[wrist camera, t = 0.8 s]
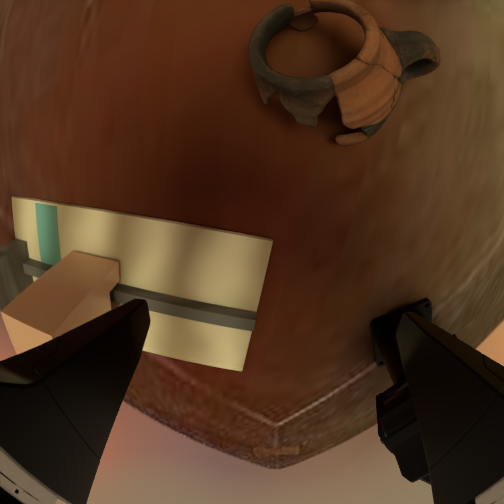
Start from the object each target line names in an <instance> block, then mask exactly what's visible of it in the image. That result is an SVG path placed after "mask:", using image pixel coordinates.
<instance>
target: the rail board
mask: <svg viewBox="0 0 504 504" xmlns="http://www.w3.org/2000/svg"><path fill="white" fill-rule="evenodd" d="M12 208H13V219H14V228H15V236H16V238H15V239H14V240H12V241H10V242H9V243H7V244H6V245H4V246H2V247H1V248H0V312H1V311H2V310H3V309H4V308H5V307H6V306H7V305H8V304H9V303H10V302H12V301H13V300H14V299H15V298H16V297H17V296H18V295H19V294H20V293H22V292H23V291H24V290H25V289H26V288H27V287H28V286H30V285H31V284H32V283H33V282H34V281H36V280H37V279H38V278H39V277H40V276H42V275H43V274H44V273H45V272H46V271H48V270H49V269H50V268H51V267H53V266H54V265H55V264H56V263H58V262H59V261H60V260H61V259H63V258H64V257H65V256H67V255H68V254H69V253H71V252H72V251H75V252H79V253H83V254H87V255H92V256H96V257H100V258H104V259H109V260H113V261H117V262H119V279H120V280H119V282H118V283H117V284H116V285H115V286H114V288H113V289H112V290H111V291H110V300H111V301H114V302H118V303H121V305H122V304H124V303H126V302H129V301H131V300H133V299H135V298H139V299H145V300H146V301H147V303H148V308H149V314H150V319H151V322H150V327H149V330H148V334H147V337H146V340H145V343H144V347H143V350H144V351H148V352H152V353H155V354H159V355H163V356H167V357H172V358H176V359H180V360H185V361H189V362H194V363H199V364H204V365H209V366H214V367H219V368H225V369H231V370H237V371H242V369H243V365H244V361H245V357H246V353H247V349H248V345H249V341H250V337H251V333H252V332H253V331H254V327H255V323H256V312H257V308H258V304H259V299H260V295H261V291H262V287H263V282H264V278H265V274H266V270H267V265H268V261H269V256H270V252H271V248H272V243H273V239H270V238H264V237H259V236H254V235H248V234H243V233H238V232H232V231H227V230H221V229H216V228H210V227H204V226H199V225H193V224H188V223H182V222H176V221H170V220H165V219H159V218H153V217H147V216H141V215H135V214H129V213H123V212H117V211H111V210H105V209H99V208H92V207H86V206H80V205H73V204H67V203H60V202H54V201H47V200H40V199H34V198H27V197H20V196H13V197H12Z"/></svg>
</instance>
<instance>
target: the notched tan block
mask: <svg viewBox="0 0 504 504" xmlns="http://www.w3.org/2000/svg"><path fill="white" fill-rule="evenodd" d="M119 280H120V279H119V262H117V261H113V260H109V259H104V258H100V257H96V256H92V255H87V254H83V253H79V252H75V251H72V252H71V253H69V254H68V255H67V256H65V257H64V258H63V259H61V260H60V261H59V262H58V263H56V264H55V265H54V266H53V267H51V268H50V269H49V270H48V271H46V272H45V273H44V274H43V275H42V276H40V277H39V278H38V279H37V280H36V281H34V282H33V283H32V284H31V285H30V286H28V287H27V288H26V289H25V290H24V291H23V292H22V293H20V294H19V295H18V296H17V297H16V298H15V299H14V300H13V301H12V302H10V303H9V304H8V305H7V306H6V307H5V308H4V309H3V310H2V311H1V314H2V317H3V320H4V322H5V325H6V328H7V331H8V333H9V336H10V339H11V341H12V343H13V346H14V348H15V350H16V353H17V354H20V353H22V352H25V351H27V350H30V349H32V348H34V347H37V346H39V345H41V344H43V343H45V342H47V341H50V340H52V339H54V338H56V337H58V336H61V335H62V334H64V333H66V332H68V331H70V330H72V329H74V328H76V327H78V326H80V325H82V324H84V323H86V322H88V321H90V320H92V319H94V318H96V317H98V316H100V315H102V314H104V313H106V312H108V311H110V310H112V309H114V308H116V307H118V306H120V305H121V303H118V302H114V301H111V300H110V291H111V290H112V289H113V288H114V286H115V285H116V284H117V283H118V282H119Z"/></svg>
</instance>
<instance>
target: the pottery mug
mask: <svg viewBox="0 0 504 504" xmlns="http://www.w3.org/2000/svg"><path fill="white" fill-rule="evenodd" d="M309 2H310V4H311V6H309V7H304V8H301V9H298V10H296V11H294V10H293V7H292V5H290V4H286V5H280V6H278V7H276V8H275V9H273V10H272V11H270V12H269V13H268V14H267V15H266V16H265V17H264V18H263V19H262V20H261V21H260V22H259V23H258V25H257V26H256V27H255V29H254V32H253V34H252V39H251V40H250V43H249V47H248V50H249V60H250V64H251V65H252V67H253V73H254V77H255V80H256V83H257V87H258V90H259V93H260V96H261V98H262V100H263V102H264V104H268V103H269V102H270V99H271V97H273V96H274V95H275V94H276V93H279V97H280V101H281V103H282V104H283V106H284V108H285V109H286V110H287V111H288V112H290V113H291V114H292V115H293V116H294V118H295V120H296V121H297V122H298V123H300V124H302V125H306V126H310V127H316V126H317V124H318V117H317V116H318V115H319V114H320V113H321V112H322V111H323V109H324V107H325V106H326V104H327V103H328V102H329V101H330V100H331V99H332V98H333V97H334V96H336V98H337V101H338V105H339V107H340V111H341V116H342V117H341V120H342V123H343V125H345V126H346V127H348V128H351V129H355V128H359V127H361V129H362V131H360V132H356V133H351V134H345V135H337V136H336V137H335V140H336V143H338V144H340V145H351V144H355V143H359V142H361V141H363V140H366V139H367V138H370V137H371V136H373V135H374V134H375V133H376V132H377V131H378V130H379V129H380V128H381V126H382V125H383V123H384V122H385V120H386V119H387V117H388V116H389V115H390V113H391V112H392V110H393V109H394V107H395V105H396V104H397V102H398V99H399V97H400V94H401V91H402V84H403V83H404V82H406V81H407V80H409V79H413V78H416V77H420V76H423V75H426V74H428V73H430V72H432V71H434V70H435V69H436V68H437V67H438V66H439V64H440V50H439V48H438V47H437V46H436V45H435V43H434V41H433V40H432V39H431V38H429V37H428V36H426V35H425V34H423V33H420V32H417V31H403V32H400V31H392V30H389V29H387V28H385V27H381V28H380V29H379V28H378V25H377V23H376V21H375V20H374V18H373V17H372V15H371V14H369V13H368V12H367V11H366V10H365V9H364V8H362V7H361V6H359V5H358V4H356V3H354V2H352V1H350V0H309ZM318 12H334V13H341V14H345V15H347V16H350V17H352V18H353V19H355V20H356V21H357V22H358V23H359V24H360V25H362V27H363V30H364V33H365V40H364V44H363V47H362V49H361V51H360V52H359V54H358V55H357V56H356V58H355V59H353V60H352V61H351V62H350V63H348V64H347V65H345V66H344V67H342V68H340V69H338V70H336V71H334V72H332V73H330V74H329V75H325V76H318V77H311V78H298V77H291V76H286V75H283V74H280V73H278V72H276V71H274V70H273V69H272V68H271V67H270V66H269V65H268V63H267V60H266V56H265V53H266V48H267V45H268V43H269V41H270V39H271V38H272V37H273V36H274V35H275V34H277V33H278V32H280V31H282V30H283V29H285V28H287V27H289V26H292V27H293V28H296V29H298V30H300V31H303V30H306V29H308V28H310V27H312V26H313V25H315V24H317V23H318V21H319V20H318V17H317V16H316V15H315V14H314V13H318Z"/></svg>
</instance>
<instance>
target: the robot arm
mask: <svg viewBox="0 0 504 504" xmlns="http://www.w3.org/2000/svg"><path fill="white" fill-rule="evenodd" d="M431 318H432V310H431V301H430V300H429V299H424V300H422V301H420V302H417V303H415V304H413V305H410V306H408V307H406V308H403V309H401V310H398V311H396V312H393V313H391V314H388V315H386V316H383V317H380V318H378V319H375V320H373V321H372V322H371V323H370V327H371V333H372V339H373V346H374V352H375V359H376V364H377V366H383V365H386V367H387V369H388V372H389V374H390V376H391V379H392V381H393V384H394V385H393V386H391V387H390V388H389V389H387V390H386V391H384V392H383V393H380V394H378V395H377V396H376V409H377V422H378V435H379V437H380V440H381V442H382V443H383V444H385V446H386V448H387V449H388V450H389V451H390V452H391V453H393V454H394V455H395V457H396V460H397V462H398V465H399V468H400V471H401V474H402V476H403V477H405V478H406V479H407V480H409V481H410V482H415V481H417V480H419V479H420V480H422V481H424V482H426V483H428V484H430V485H431V486H432V493H433V499H434V504H504V366H502V365H500V364H499V363H497V362H495V361H494V360H492V359H490V358H489V357H487V356H486V355H484V354H482V353H481V352H479V351H477V350H476V349H474V348H473V347H471V346H469V345H468V344H466V343H464V342H463V341H461V340H459V339H458V338H457V337H456V335H455V334H453V335H451V334H450V333H448V332H446V331H445V330H443V329H441V328H439V327H438V326H436V325H434V324H433V323H431ZM150 322H151V319H150V314H149V308H148V303H147V301H146V300H145V299H139V298H135V299H133V300H131V301H129V302H126V303H124V304H122V305H120V306H118V307H116V308H114V309H112V310H110V311H108V312H106V313H104V314H102V315H100V316H98V317H96V318H94V319H92V320H90V321H88V322H86V323H84V324H82V325H80V326H78V327H76V328H74V329H72V330H70V331H68V332H66V333H64V334H62V335H61V336H58V337H56V338H54V339H52V340H50V341H47V342H45V343H43V344H41V345H39V346H37V347H34V348H32V349H30V350H27V351H25V352H22V353H20V354H17V355H15V356H12V357H10V358H8V359H5V360H3V361H0V504H55V503H56V500H57V498H58V499H60V500H62V501H64V502H66V503H67V504H86V503H87V500H88V497H89V493H90V490H91V487H92V484H93V481H94V478H95V475H96V472H97V469H98V466H99V463H100V459H101V456H102V454H103V451H104V448H105V445H106V443H107V440H108V437H109V434H110V432H111V429H112V426H113V424H114V421H115V419H116V416H117V414H118V411H119V408H120V406H121V403H122V401H123V398H124V396H125V393H126V391H127V389H128V386H129V384H130V381H131V379H132V377H133V374H134V372H135V369H136V367H137V365H138V362H139V360H140V357H141V353H142V350H143V347H144V343H145V340H146V337H147V334H148V330H149V327H150ZM376 324H377V325H376ZM374 325H376V326H374Z"/></svg>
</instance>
